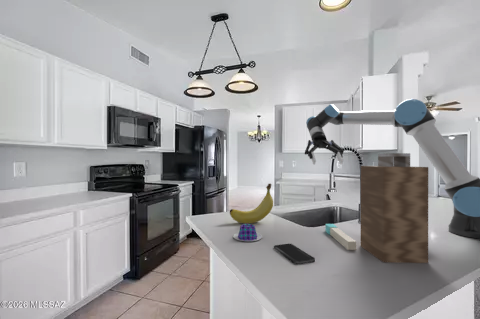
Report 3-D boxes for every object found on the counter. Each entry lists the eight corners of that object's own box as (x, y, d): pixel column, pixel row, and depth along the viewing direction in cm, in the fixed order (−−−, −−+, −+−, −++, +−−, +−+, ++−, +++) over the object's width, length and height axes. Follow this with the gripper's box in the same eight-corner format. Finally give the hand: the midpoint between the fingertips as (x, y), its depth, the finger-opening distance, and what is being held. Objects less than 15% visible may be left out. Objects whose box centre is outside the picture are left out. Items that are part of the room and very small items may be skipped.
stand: (398, 246, 87) (398, 154, 87) (428, 262, 73) (428, 153, 73) (360, 246, 87) (360, 154, 87) (383, 262, 73) (383, 152, 73)
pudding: (260, 233, 102) (260, 221, 102) (264, 243, 90) (264, 229, 90) (233, 233, 102) (233, 221, 102) (233, 243, 90) (233, 229, 90)
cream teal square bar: (332, 231, 105) (333, 223, 105) (356, 250, 83) (356, 241, 83) (325, 231, 105) (325, 223, 105) (347, 250, 83) (347, 241, 83)
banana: (230, 225, 114) (230, 184, 114) (228, 222, 120) (229, 183, 120) (274, 223, 118) (274, 184, 118) (270, 220, 124) (271, 182, 124)
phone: (295, 262, 71) (272, 245, 85) (295, 266, 71) (272, 248, 85) (316, 259, 73) (291, 243, 88) (316, 262, 73) (291, 246, 88)
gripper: (338, 141, 135) (350, 167, 120) (294, 141, 135) (302, 167, 120) (341, 130, 130) (355, 157, 114) (297, 131, 130) (304, 157, 114)
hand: (328, 162), depth 117 cm, fingers open, 13 cm apart
